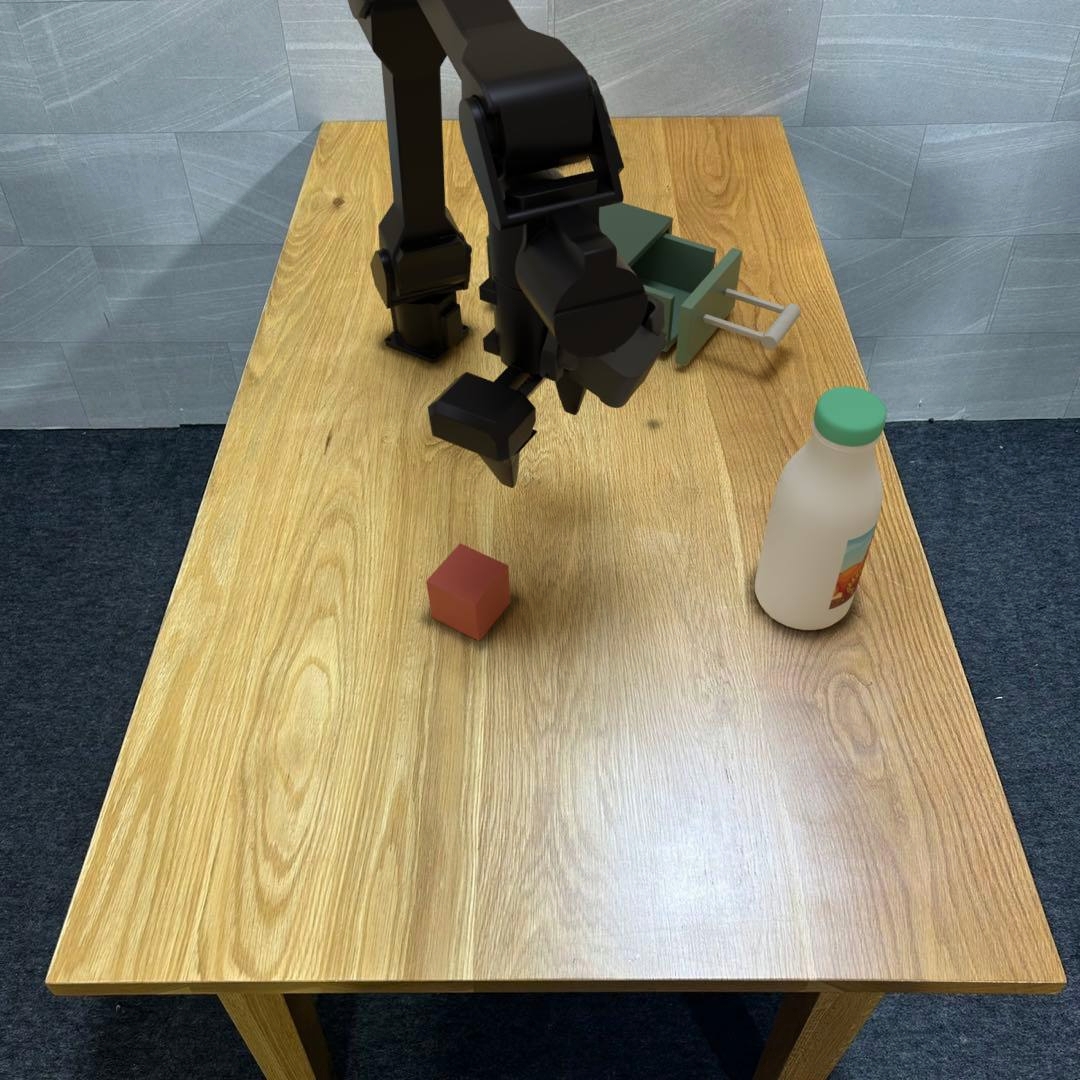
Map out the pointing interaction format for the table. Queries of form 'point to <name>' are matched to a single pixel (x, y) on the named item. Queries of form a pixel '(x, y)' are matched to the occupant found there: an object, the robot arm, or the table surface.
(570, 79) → the robot arm
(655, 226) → the cabinet
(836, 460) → the milk bottle
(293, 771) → the table surface
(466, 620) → the block
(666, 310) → the drawer
